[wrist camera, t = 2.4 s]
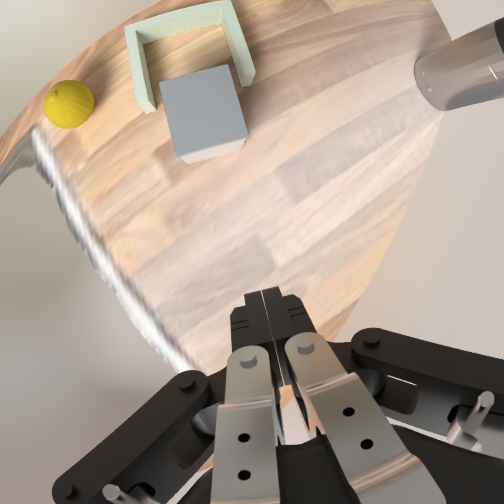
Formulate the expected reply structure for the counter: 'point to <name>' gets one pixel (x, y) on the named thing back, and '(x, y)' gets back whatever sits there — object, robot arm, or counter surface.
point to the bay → (182, 23)
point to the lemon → (68, 104)
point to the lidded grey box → (204, 114)
